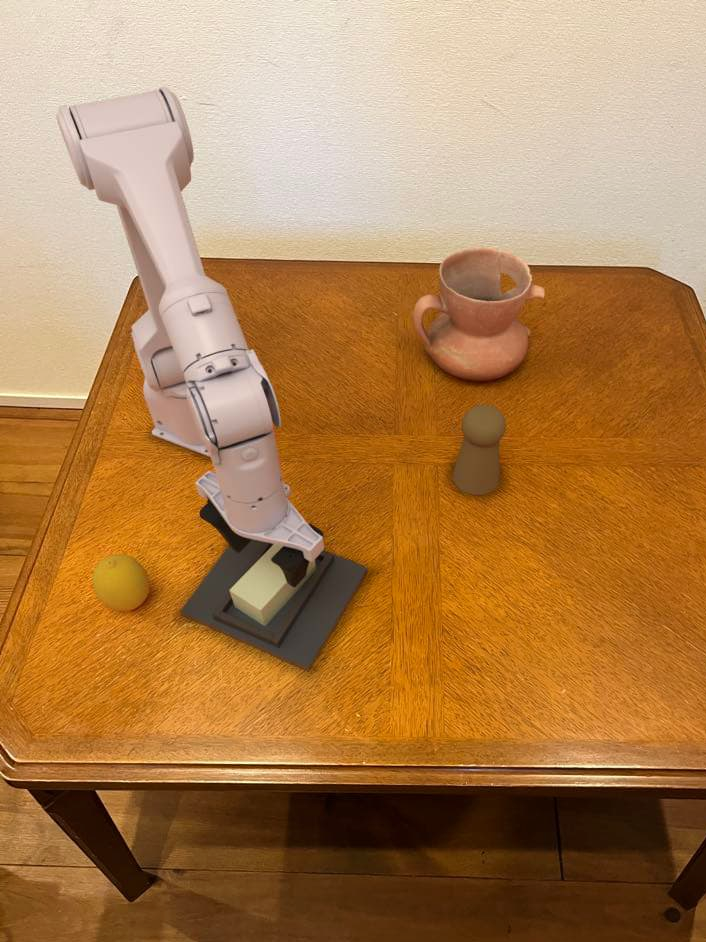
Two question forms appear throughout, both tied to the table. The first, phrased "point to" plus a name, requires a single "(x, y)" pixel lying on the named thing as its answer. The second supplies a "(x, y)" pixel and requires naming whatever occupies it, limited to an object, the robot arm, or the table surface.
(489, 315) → the ceramic jug
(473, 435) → the brown pawn
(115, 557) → the lemon
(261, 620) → the cream rectangular block
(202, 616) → the base pad
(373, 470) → the table surface
